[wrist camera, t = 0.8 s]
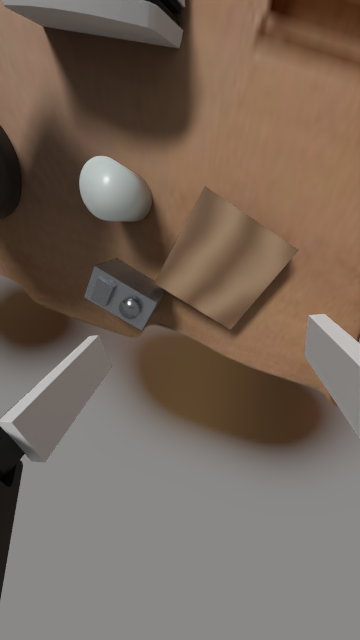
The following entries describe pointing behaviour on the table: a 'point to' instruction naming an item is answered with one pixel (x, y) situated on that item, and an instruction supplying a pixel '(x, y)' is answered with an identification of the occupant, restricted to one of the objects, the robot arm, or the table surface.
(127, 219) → the pale grey pebble
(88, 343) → the robot arm
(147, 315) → the housing
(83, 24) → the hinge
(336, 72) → the table surface
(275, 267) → the stand
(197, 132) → the table surface
